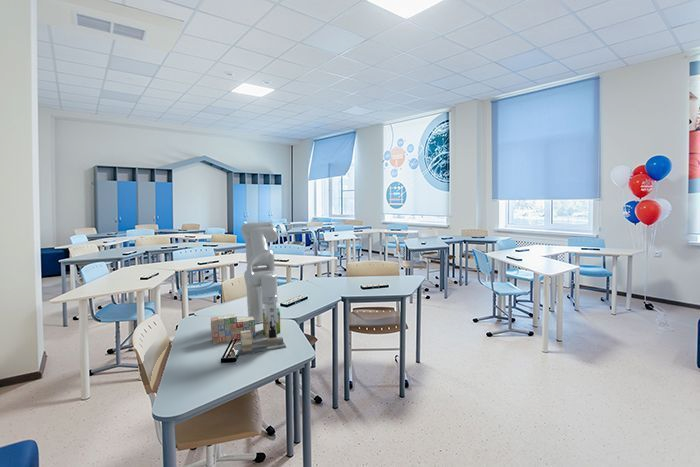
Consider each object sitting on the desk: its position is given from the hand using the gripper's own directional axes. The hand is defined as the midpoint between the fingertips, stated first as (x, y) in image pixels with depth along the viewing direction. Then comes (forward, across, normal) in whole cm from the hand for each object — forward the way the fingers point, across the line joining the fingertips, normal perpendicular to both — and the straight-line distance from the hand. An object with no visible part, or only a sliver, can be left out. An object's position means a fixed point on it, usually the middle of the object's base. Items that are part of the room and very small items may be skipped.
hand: (271, 335), depth 184 cm
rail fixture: (+6, 0, +6) cm, 8 cm away
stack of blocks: (+6, +20, +16) cm, 26 cm away
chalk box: (+6, +21, -4) cm, 22 cm away
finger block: (+1, 0, 0) cm, 1 cm away
